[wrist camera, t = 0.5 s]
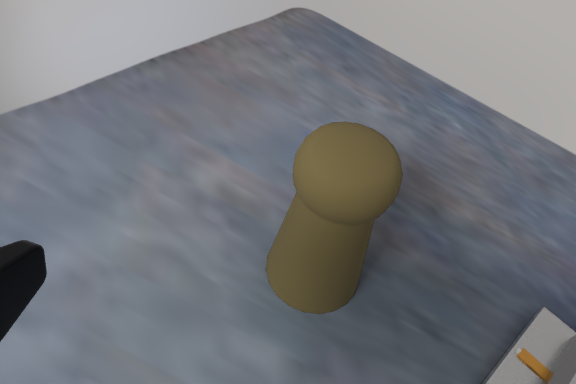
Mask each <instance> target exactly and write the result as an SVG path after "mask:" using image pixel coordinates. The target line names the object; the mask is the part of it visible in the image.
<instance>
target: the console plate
mask: <svg viewBox="0 0 576 384" xmlns="http://www.w3.org/2000/svg"><path fill="white" fill-rule="evenodd" d="M482 384H576V332H575V331H573V330H572V329H571V328H570V327H568V326H567V325H566V324H565V323H564V322H562V321H561V320H560V319H559V318H557V317H556V316H555V315H554V314H552V313H551V312H550V311H549V310H548V309H546V308H545V307H543V308H542V309H541V310H539V311H538V312H537V313H535V315H534V316H533V317H532V318H531V320H530V321H529V322H528V324H527V325H526V326H525V328H524V329H523V330H522V331H521V333H520V334H519V335H518V337H517V338H516V339H515V341H514V342H513V343H512V344H511V346H510V347H509V348H508V350H507V351H506V352H505V354H504V355H503V356H502V357H501V359H500V360H499V361H498V363H497V364H496V365H495V367H494V368H493V369H492V370H491V372H490V373H489V374H488V376H487V377H486V378H485V380H484V381H483V382H482Z"/></svg>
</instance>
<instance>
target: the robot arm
mask: <svg viewBox="0 0 576 384" xmlns="http://www.w3.org/2000/svg"><path fill="white" fill-rule="evenodd" d="M46 274H47V271H46V263H45V255H44V249H43V247H42V246H40V245H38V244H35V243H33V242H30V241H27V240H21V241H17V242H14V243H11V244H9V245H6V246H3V247H0V341H1V340H2V339H3V338H4V336H5V335H6V334H7V332H8V331H9V330H10V328H11V327H12V325H13V324H14V323H15V321H16V320H17V319H18V317H19V316H20V315H21V313H22V312H23V310H24V309H25V308H26V306H27V305H28V304H29V302H30V301H31V299H32V298H33V297H34V295H35V294H36V293H37V291H38V290H39V288H40V287H41V286H42V284H43V283H44V281H45V278H46Z"/></svg>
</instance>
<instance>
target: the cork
mask: <svg viewBox="0 0 576 384" xmlns="http://www.w3.org/2000/svg"><path fill="white" fill-rule="evenodd" d="M293 181H294V185H295V188H296V191H297V192H296V195H295V197H294V199H293V201H292V204H291V206H290V208H289V210H288V212H287V215H286V217H285V219H284V221H283V223H282V226H281V228H280V230H279V232H278V234H277V237H276V239H275V241H274V243H273V246H272V248H271V250H270V252H269V254H268V257H267V264H266V272H267V276H268V281H269V284H270V285H271V287H272V288H273V290H274V292H275V293H276V295H277V296H278V297H279V298H281V299H282V300H283V301H284V302H285V303H286V304H288V305H289V306H291V307H293V308H296V309H298V310H300V311H302V312H308V313H316V314H321V313H327V312H332V311H335V310H337V309H339V308H340V307H342V306H344V305H346V304H347V303H348V301H349V300H350V299H351V298H352V297H353V295H354V294H355V292H356V289H357V286H358V283H359V279H360V275H361V271H362V267H363V263H364V259H365V255H366V251H367V247H368V243H369V239H370V235H371V231H372V227H373V223H374V219H376V218H378V217H379V216H380V215H381V214H383V213H384V212H385V211H386V210H387V209H388V207H389V206H390V205H391V204H392V203H393V202H394V200H395V198H396V196H397V195H398V192H399V188H400V185H401V181H402V167H401V161H400V158H399V155H398V153H397V152H396V150H395V148H394V146H393V145H392V144H391V143H390V142H389V141H388V140H387V139H386V138H385V137H384V136H383V135H382V134H380V133H378V132H377V131H375V130H374V129H372V128H369V127H366V126H364V125H361V124H357V123H350V122H333V123H329V124H326V125H323V126H321V127H319V128H318V129H316V130H315V131H314V132H312V133H311V134H310V135H308V136H307V137H306V138H305V139H304V141H303V143H302V144H301V146H300V148H299V149H298V151H297V153H296V155H295V159H294V166H293Z"/></svg>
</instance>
